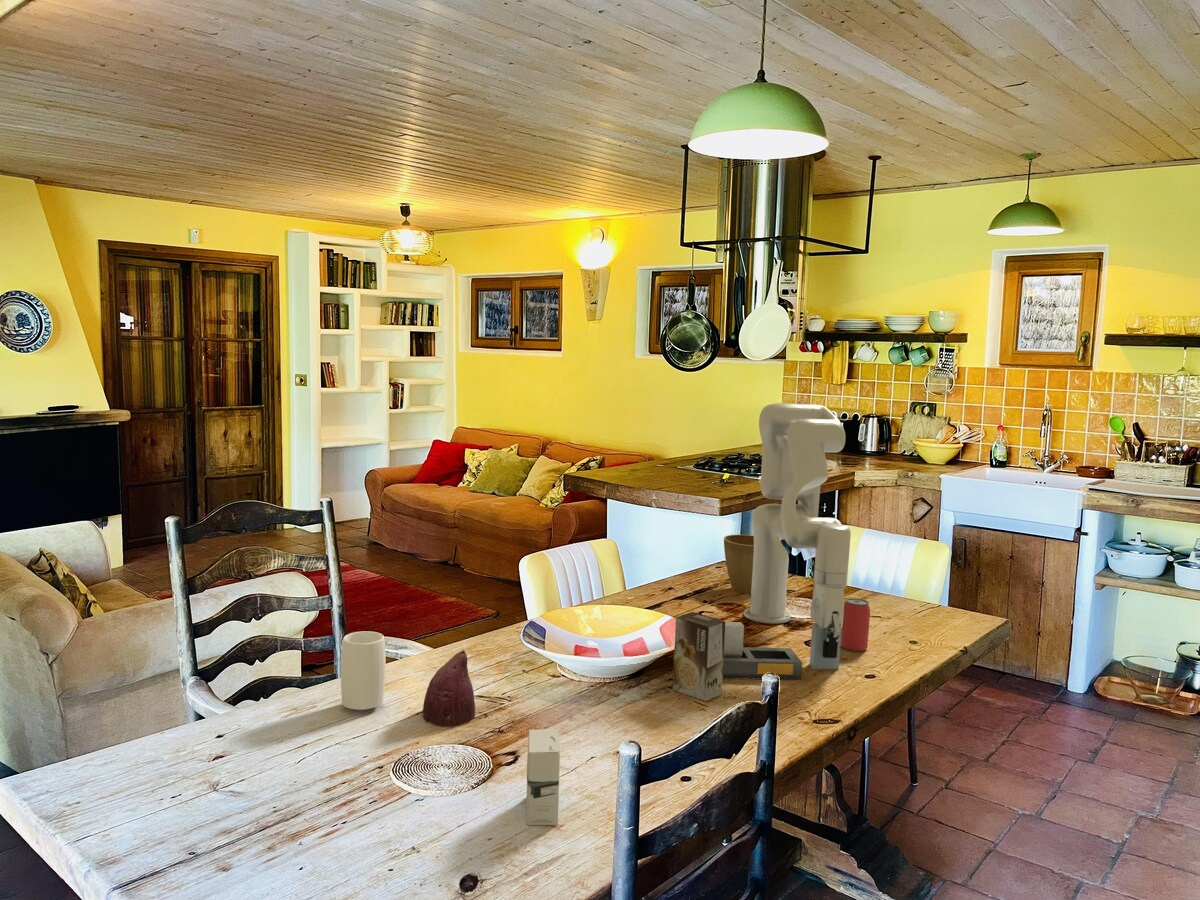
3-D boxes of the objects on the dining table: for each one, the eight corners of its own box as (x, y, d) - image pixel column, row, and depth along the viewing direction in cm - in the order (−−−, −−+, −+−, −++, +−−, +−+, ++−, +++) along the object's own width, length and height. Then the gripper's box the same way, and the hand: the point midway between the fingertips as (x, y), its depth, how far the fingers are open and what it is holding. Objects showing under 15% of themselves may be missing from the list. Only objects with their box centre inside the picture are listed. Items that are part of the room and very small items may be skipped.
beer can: (864, 644, 229) (868, 598, 227) (869, 653, 222) (873, 605, 221) (838, 642, 229) (841, 596, 228) (842, 651, 223) (846, 603, 221)
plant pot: (719, 595, 269) (723, 542, 267) (721, 582, 284) (724, 532, 282) (770, 599, 267) (773, 546, 265) (769, 586, 281) (772, 536, 279)
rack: (696, 663, 210) (699, 617, 208) (790, 664, 211) (793, 619, 210) (704, 678, 200) (707, 630, 199) (802, 680, 202) (806, 632, 200)
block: (809, 664, 212) (812, 623, 211) (834, 664, 213) (837, 623, 212) (813, 668, 209) (816, 627, 208) (838, 669, 210) (841, 627, 209)
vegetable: (480, 726, 178) (503, 655, 177) (455, 740, 168) (480, 665, 167) (435, 704, 181) (458, 634, 180) (408, 716, 171) (432, 643, 170)
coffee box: (723, 694, 191) (727, 621, 189) (705, 702, 186) (709, 627, 185) (688, 682, 197) (692, 611, 196) (670, 689, 193) (674, 616, 191)
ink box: (525, 798, 144) (528, 727, 143) (556, 798, 145) (559, 727, 143) (525, 826, 136) (528, 751, 134) (558, 826, 136) (561, 751, 135)
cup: (370, 695, 182) (371, 627, 181) (393, 708, 176) (394, 638, 175) (332, 706, 176) (332, 636, 175) (354, 720, 170) (354, 647, 169)
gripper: (803, 567, 217) (798, 640, 219) (826, 586, 200) (820, 665, 202) (834, 568, 217) (829, 641, 219) (859, 587, 200) (853, 666, 202)
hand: (825, 651), depth 211 cm, fingers open, 5 cm apart
